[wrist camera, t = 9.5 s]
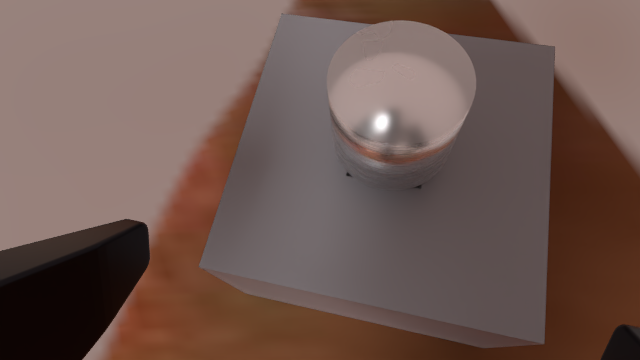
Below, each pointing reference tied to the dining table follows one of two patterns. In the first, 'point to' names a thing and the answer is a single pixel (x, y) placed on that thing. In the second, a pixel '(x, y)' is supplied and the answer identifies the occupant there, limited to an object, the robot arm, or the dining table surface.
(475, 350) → the dining table surface
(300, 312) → the dining table surface
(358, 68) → the pump plunger
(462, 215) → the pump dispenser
